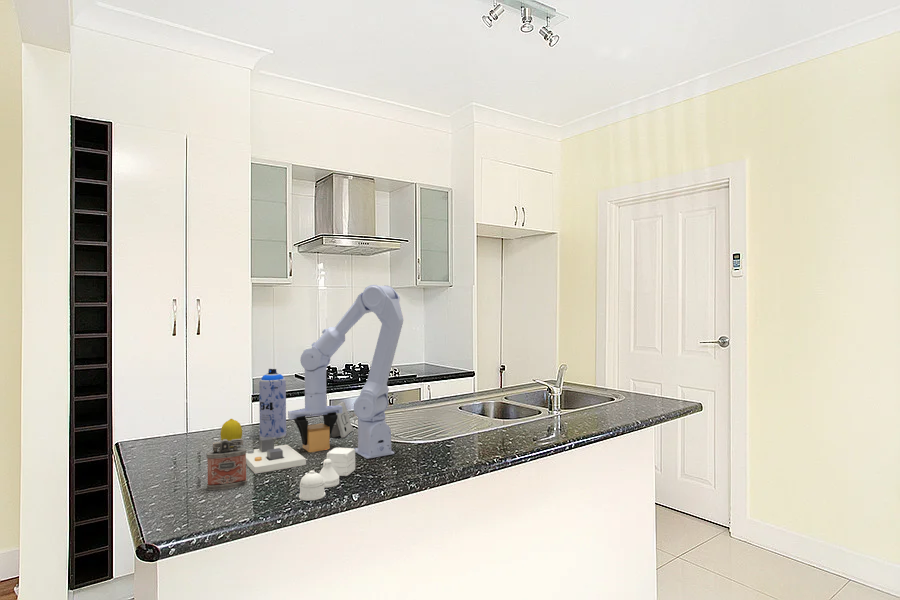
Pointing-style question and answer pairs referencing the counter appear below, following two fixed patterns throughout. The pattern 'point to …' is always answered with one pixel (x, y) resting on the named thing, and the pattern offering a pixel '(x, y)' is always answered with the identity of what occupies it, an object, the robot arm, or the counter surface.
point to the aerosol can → (272, 405)
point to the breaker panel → (261, 464)
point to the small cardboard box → (317, 438)
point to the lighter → (226, 465)
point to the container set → (327, 473)
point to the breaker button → (274, 454)
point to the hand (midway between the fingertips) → (316, 442)
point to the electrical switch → (342, 423)
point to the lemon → (231, 430)
